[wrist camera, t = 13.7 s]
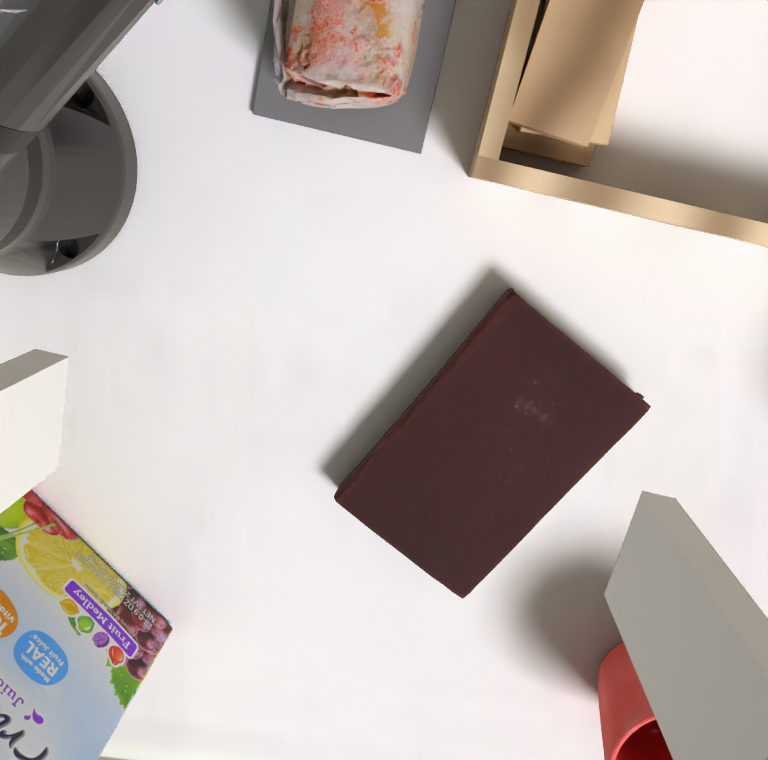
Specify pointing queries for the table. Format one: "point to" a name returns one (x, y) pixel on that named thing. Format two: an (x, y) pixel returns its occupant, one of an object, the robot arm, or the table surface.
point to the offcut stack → (572, 78)
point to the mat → (377, 125)
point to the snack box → (65, 639)
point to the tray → (568, 187)
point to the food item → (345, 50)
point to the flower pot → (627, 712)
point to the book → (490, 446)
